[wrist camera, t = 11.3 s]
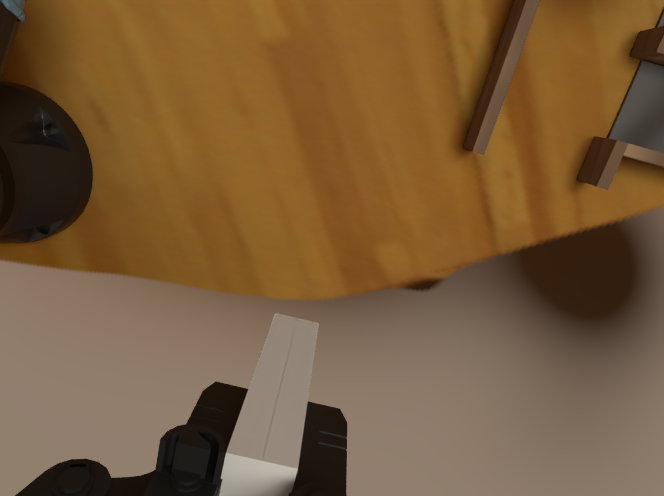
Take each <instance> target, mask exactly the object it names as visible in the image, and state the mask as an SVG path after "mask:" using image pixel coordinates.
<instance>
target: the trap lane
mask: <svg viewBox="0 0 664 496" xmlns="http://www.w3.org/2000/svg"><path fill="white" fill-rule="evenodd" d="M539 2H540V0H514V2H513V5H512V8H511V11H510V13H509V16H508V19H507V22H506V25H505V28H504V31H503V34H502V36H501V39H500V42H499V45H498V48H497V51H496V54H495V57H494V59H493V62H492V65H491V68H490V71H489V74H488V77H487V79H486V82H485V85H484V88H483V91H482V94H481V97H480V100H479V102H478V105H477V108H476V111H475V114H474V117H473V120H472V122H471V125H470V128H469V131H468V134H467V137H466V140H465V143H464V145H463V147H464V148H466V149H468V150H471V151H473V152H476V153H480V154H483V155H484V153H485V150H486V147H487V145H488V142H489V139H490V136H491V134H492V131H493V128H494V125H495V123H496V120H497V117H498V114H499V112H500V109H501V106H502V103H503V101H504V98H505V95H506V92H507V90H508V87H509V84H510V81H511V79H512V76H513V73H514V70H515V68H516V65H517V62H518V59H519V57H520V54H521V51H522V48H523V46H524V43H525V40H526V37H527V35H528V32H529V29H530V26H531V24H532V21H533V18H534V15H535V13H536V10H537V7H538V4H539ZM630 56H631V57H634V58H638V59H641V60H644V61H641V62H640V64H639V66H638V69H637V71H636V73H635V76H634V78H633V80H632V82H631V85H630V87H629V89H628V92H627V94H626V96H625V98H624V101H623V103H622V105H621V108H620V110H619V112H618V114H617V117H616V119H615V121H614V124H613V126H612V128H611V130H610V133H609V135H608V137H607V138H601V137H594V140H593V142H592V144H591V146H590V149H589V151H588V153H587V156H586V158H585V160H584V163H583V165H582V167H581V170H580V172H579V174H578V177H577V179H578V180H580V181H583V182H586V183H588V184H591V185H594V186H596V187H600V188H603V189H607V190H608V188H609V186H610V184H611V181H612V179H613V177H614V175H615V173H616V170H617V168H618V166H619V164H620V162H621V159H622V157H626V158H629V159H633V160H636V161H640V162H643V163H647V164H650V165H654V166H657V167H661V168H664V67H663V66H664V9H663V11H662V14H661V16H660V18H659V21H658V23H657V25H656V27H655V28H653V29H649V30H644V31H640V32H639V35H638V37H637V39H636V42H635V44H634V46H633V49H632V51H631V53H630ZM646 61H648V62H646ZM650 62H651V63H650ZM653 63H655V64H653ZM656 64H658V65H656ZM660 65H662V66H660Z"/></svg>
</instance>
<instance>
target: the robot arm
mask: <svg viewBox="0 0 664 496" xmlns="http://www.w3.org/2000/svg"><path fill="white" fill-rule="evenodd" d="M25 1H26V0H0V243H29V242H34V241H38V240H42V239H44V238H47V237H49V236H52V235H54V234H56V233H58V232H60V231H62V230H64V229H66V228H67V227H69V226H70V225H71V224H72V223H73V222H75V220H76V219H77V218H78V217H79V216H80V215H81V213H82V212H83V210H84V208H85V206H86V204H87V202H88V199H89V196H90V193H91V188H92V164H91V158H90V154H89V151H88V148H87V145H86V143H85V140H84V138H83V136H82V134H81V132H80V131H79V129H78V127H77V126H76V124H75V123H74V122H73V120H72V119H71V118H70V116H69V115H68V114H67V113H66V112H65V111H64V110H63V109H62V108H61V107H60V106H59V105H58V104H56V103H55V102H54V101H53V100H51V99H50V98H48V97H47V96H45V95H44V94H42V93H40V92H38V91H36V90H34V89H32V88H29V87H26V86H23V85H19V84H15V83H7V82H1V81H2V78H3V74H4V71H5V68H6V65H7V62H8V59H9V55H10V52H11V49H12V46H13V43H14V40H15V36H16V33H17V30H18V27H19V24H20V23H24V20H25V15H24V13H23V9H24V5H25ZM318 326H319V323H316V322H311V321H307V320H303V319H299V318H294V317H290V316H286V315H282V314H277V313H275V315H274V318H273V321H272V323H271V326H270V329H269V332H268V335H267V338H266V340H265V343H264V346H263V349H262V352H261V355H260V358H259V360H258V363H257V366H256V369H255V372H254V375H253V377H252V380H251V383H250V386H249V389H246V388H241V387H237V386H232V385H228V384H224V383H220V382H215V383H213V384H212V385H210V386H209V387H208V388H206V389H205V390H204V391H203V392H202V394H201V396H200V398H199V400H198V402H197V404H196V406H195V408H194V410H193V412H192V414H191V417H190V418H189V420H188V422H187V424H186V425H181V426H177V427H175V428H173V429H171V430H169V431H167V432H166V433H165V435H164V436H163V437H162V438H161V439H160V445H159V452H158V458H157V464H156V470H154V471H153V472H151V473H148V474H144V475H141V476H135V477H124V478H123V477H122V478H111V476H110V474H109V472H108V470H107V468H106V467H104V466H103V465H102V464H100V463H98V462H96V461H92V460H88V459H72V460H68V461H65V462H62V463H59V464H57V465H55V466H53V467H51V468H50V469H48V470H47V471H45V472H44V473H43V474H41V475H40V476H39V477H37V478H36V479H35V480H34V481H33V482H31V483H30V484H29V485H28V486H26V487H25V488H24V489H23V490H22V491H20V492H19V493H18V494H17V495H15V496H346V465H347V451H346V449H347V439H346V438H347V421H346V420H345V418H344V416H343V414H342V412H341V410H340V409H338V408H334V407H329V406H325V405H321V404H316V403H312V402H308V396H309V389H310V382H311V375H312V367H313V361H314V354H315V347H316V340H317V333H318Z"/></svg>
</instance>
